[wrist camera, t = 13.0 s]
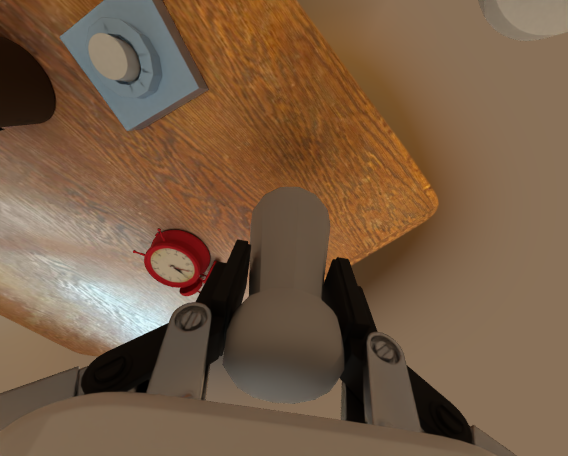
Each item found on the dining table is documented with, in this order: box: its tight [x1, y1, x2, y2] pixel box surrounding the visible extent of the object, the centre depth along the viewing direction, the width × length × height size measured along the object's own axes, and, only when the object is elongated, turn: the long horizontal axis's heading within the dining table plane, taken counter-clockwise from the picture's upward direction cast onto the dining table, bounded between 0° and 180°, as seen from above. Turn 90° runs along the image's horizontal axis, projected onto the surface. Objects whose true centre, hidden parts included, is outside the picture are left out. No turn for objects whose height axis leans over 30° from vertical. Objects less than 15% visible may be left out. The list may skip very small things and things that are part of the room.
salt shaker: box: [223, 187, 344, 404], centre depth 13 cm, size 6×6×13 cm
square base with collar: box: [60, 0, 209, 131], centre depth 24 cm, size 11×10×5 cm
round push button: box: [88, 33, 140, 82], centre depth 22 cm, size 4×4×2 cm
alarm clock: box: [133, 228, 217, 296], centre depth 39 cm, size 10×6×15 cm
